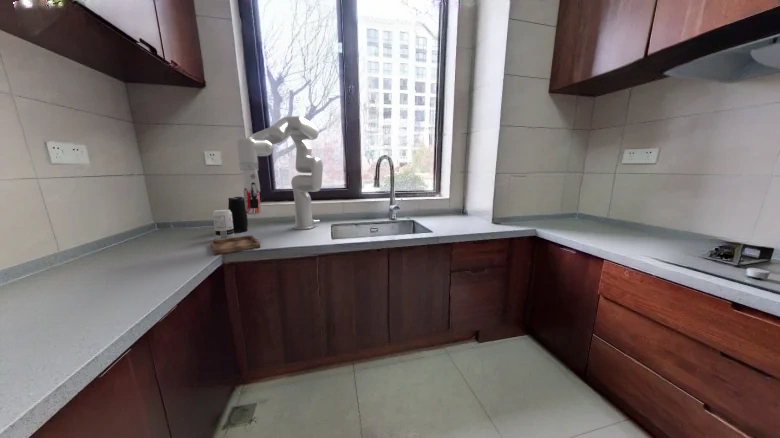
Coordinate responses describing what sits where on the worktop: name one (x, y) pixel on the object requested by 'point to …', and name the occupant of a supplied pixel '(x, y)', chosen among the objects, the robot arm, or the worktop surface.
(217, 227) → the supplement can
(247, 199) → the soda can
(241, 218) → the portable speaker
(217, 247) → the tray
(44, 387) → the worktop surface
